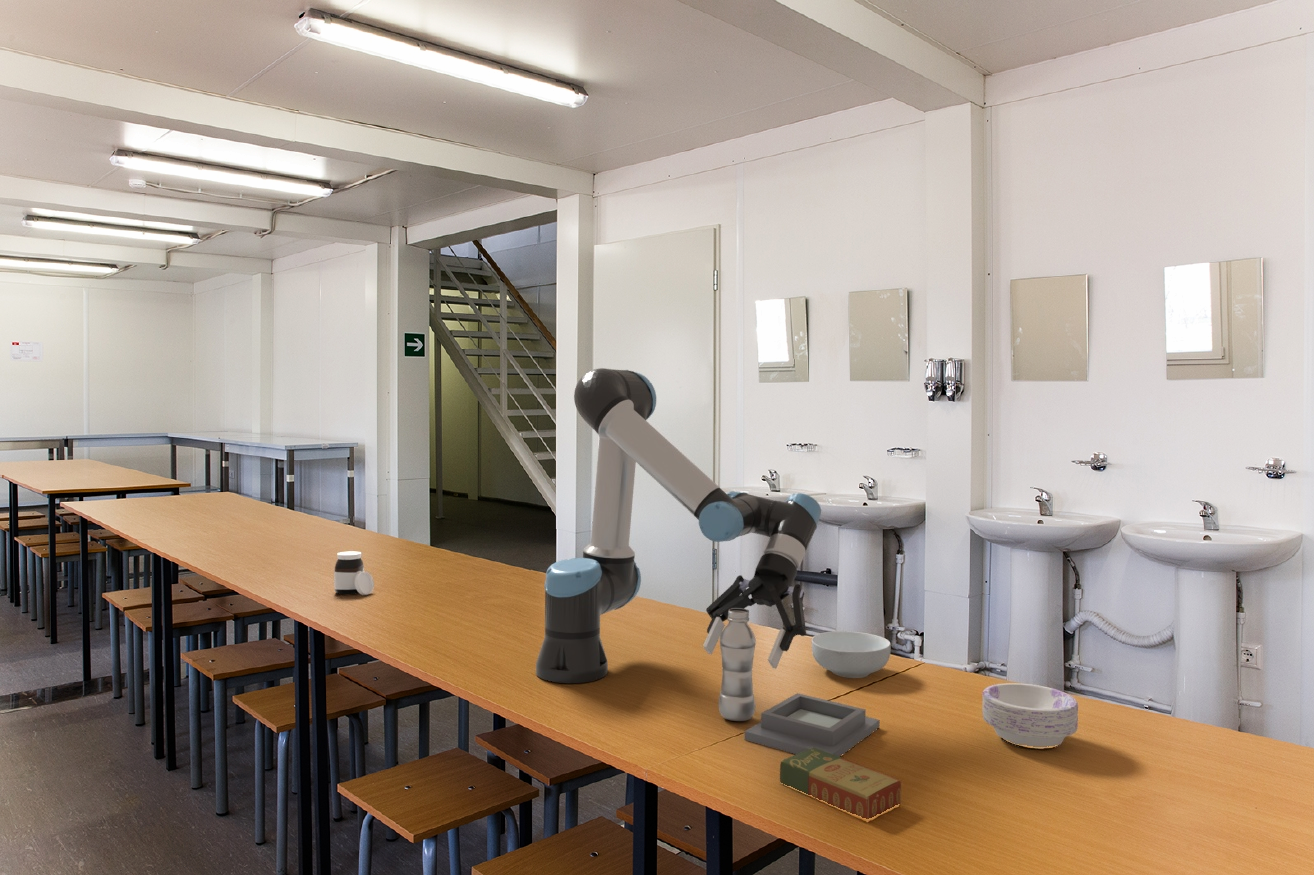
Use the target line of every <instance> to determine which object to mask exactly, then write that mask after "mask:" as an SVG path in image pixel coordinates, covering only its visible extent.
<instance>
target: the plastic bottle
mask: <svg viewBox="0 0 1314 875" xmlns="http://www.w3.org/2000/svg"><path fill="white" fill-rule="evenodd" d="M749 616H750V610H749V609H746V608H744V609H743V608H731V609H729V611H728V619H727V621H728V623H727V625H725V626H724V629H723V631H722V633H721V635H720V637H719V647H720V654H721V667H722V671H721V672H722V674H721V675H722V676H721V677H722V678H721V688H720V692H719V697H718V698H719V699H718V710H719V714H720V715H721V717H722V718H723V719H726V720H728V721H731V722H733V721H734V722H745V721H750V720H751V719H752V717H753V716H754V715H755V712H756V699H755V694H754V685H753V684H754V683H753V666H754V657H755V650H756V649H755V648H756V644H757V643H756V642H757V640H756V636H755V633H754V631H753V630H752V628H751V627H750V625H749V624H748V622H749V621H750V617H749Z"/></svg>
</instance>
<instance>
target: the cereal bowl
mask: <svg viewBox="0 0 1314 875" xmlns="http://www.w3.org/2000/svg"><path fill="white" fill-rule="evenodd" d="M810 644H811V652H812V657H813V658H814V660H815V662H816V663H817V664H818V665H819V666H820V667H822V668H823V669H826V670H828V671H830V672H832V673H833V674H834V675H835V676H839V677H841V676H842V678H846V679H847V678H848V679H859V678H866V677H868V676H869V675H870V674H872V673H876V672H879V670H882V669H883V668H884V667H885V666H886V665H887V663H888V662H889V660H890V658H891V657H890V656H891V653H892V652H891V648H892V647H891V642H890V640H889V639H886V638H885V637H883V636H880V635H876V634H872V633H866V632H860V631H850V630H849V631H848V630H846V631H844V630H842V631H841V630H836V631H835V630H834V631H827V632H821V633H818V634H815V635H814V636H813V637H812V638H811V643H810Z"/></svg>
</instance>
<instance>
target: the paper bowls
mask: <svg viewBox="0 0 1314 875" xmlns="http://www.w3.org/2000/svg"><path fill="white" fill-rule="evenodd" d="M1078 714H1079V704H1078V701H1077V699H1075V697H1074V696H1072V695H1071V694H1069V693H1066V692H1064V691H1061V690H1059V689H1056V688H1053V687H1048V686H1043V685H1038V684H1031V683H1019V682H1016V683H1015V682H1013V683H1012V682H1010V683H1006V682H1005V683H997V684H996V683H995V684H993V685H989V686H986V687H985V688H984V690H983V691H982V719H983V720H984V721H985V723H987V724H988V725H990V726H991V727H993V728H994V731H995V733H996V735H997V736H998V737H999V736H1000V737H1002V738H1003V739H1005V740H1008V741H1010V742H1012V743H1015V744H1019V745H1027V746H1033V747H1047V746H1048V747H1049V746H1055V745H1059V744H1060V745H1061V744H1063V742H1064V739H1065V738H1066V737H1069V736H1072V735H1074V734H1076V733H1077V731H1078V727H1079V726H1078V725H1079V724H1078V721H1079V718H1078V717H1079V716H1078ZM1000 737H999V738H1000ZM1060 745H1059V746H1060Z"/></svg>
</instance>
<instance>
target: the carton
mask: <svg viewBox="0 0 1314 875" xmlns="http://www.w3.org/2000/svg"><path fill="white" fill-rule="evenodd" d="M780 782H781V783H783V784H785V785H787V786H791V787H793V788H795V789H797V790H799V791H802V792H804V793H806V794H808V795H812V796H813V797H815V798H818V799H819V800H823V801H825V802H827V803H828V804H831V805H833V806H836V807H838V808H840V809H843V810H846V811H847V812H850V813H852V814H856V815H858V816H861V817H862V818H866V819H869V818H872V817H874V816H876V815H877V814H881V813H882V812H884V811H886V810H887V809H890V808H892V807H894V806H895V805H898V804H900V805H901V802H902V780H900V779H898V778H895V777H893V776H891V775H888V774H885V773H883V772H881V771H878V770H875V769H872V768H870V767H867V766H864V765H861V764H859V763H856V762H854V761H850V760H848V759H846V758H843V757H842V756H841V757H838V756H835V755H833V754H830V753H827V752H825V751H822V750H820V749H817V748H815V747H813V748H811V749H808V750H806V751H803V752H801V753H799V754H793V755H791V756H789V757H786V758H784V759H781V761H780V764H779V783H780Z"/></svg>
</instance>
